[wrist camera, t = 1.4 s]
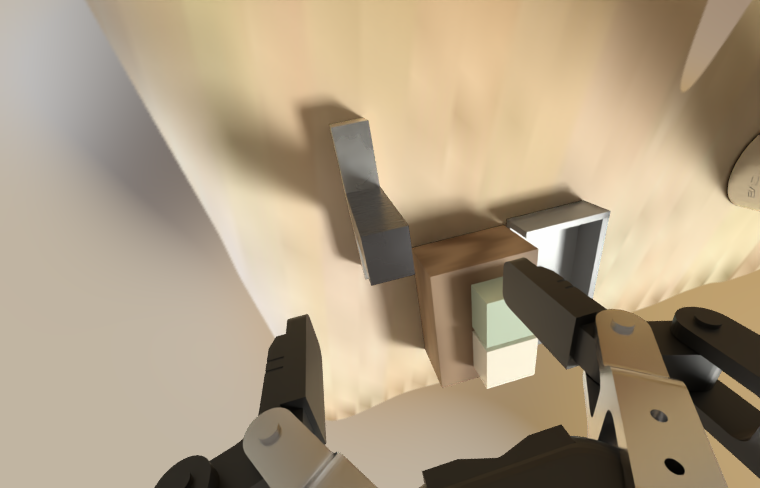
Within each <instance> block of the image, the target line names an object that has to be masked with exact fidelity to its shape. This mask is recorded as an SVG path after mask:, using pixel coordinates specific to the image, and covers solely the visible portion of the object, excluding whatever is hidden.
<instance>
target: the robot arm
mask: <svg viewBox="0 0 760 488" xmlns="http://www.w3.org/2000/svg"><path fill="white" fill-rule="evenodd" d="M728 196H729V198H730V200H731V202H732V203H734V204H735V205H737V206H741V207H745V208H748V209H752V210H756V211H760V134H759V135H758V136H757V137H756V138H755V139H754V140H753V141H752V142H751V143H750V144H749V145H748V147H747V148H746V149H745V151H744V152H743V153H742V154H741V156H740V158H739V159H738V161H737V162H736V164H735V166H734V168H733V171H732V173H731V176H730V179H729V182H728ZM503 298H504V301H505V303H506V305H507V306H508V307H509V309H510V310H511V311H512V312H513V313H514V314H515V315H516V316H517V317H518V318H519V319H520V320H521V321H522V322H523V324H524V325H525V326H526V327H527V328H528V329H529V330H530V331H531V332H532V333H533V334H534V335H535V336H536V337H537V338H538V340H539V341H540V342H541V343H542V344H543V345H544V346H545V347H546V348H547V349H548V350H549V351H550V352H551V353H552V355H553V356H554V357H555V358H556V359H557V360H558V361H559V362H560V363H561V364H562V365H563V366H564V367H565V368H566V369H570V368H573V367H576V366H580V367H581V368H582V369H583V370H584V371H583V385H584V394H585V403H586V412H587V422H588V436H587V438H586V437H578V436H570V435H569V434H568V433H567V431H566V430H565V429H564V427H563V426H562V425H558V426H555V427H552V428H549V429H547V430H543V431H540V432H538V433H535V434H532V435H529V436H527V437H526V438H525V439H523V440H522V441H521V442H520V443H518V444H517V445H516V446H514V447H513V448H512V449H511V450H509V451H508V452H507V453H505V454H504V455H503V456H501V457H499V458H484V459H457V460H454V461H451V462H449V463H446V464H443V465H440V466H437V467H434V468H431V469H428V470H425V471H422V473H423V478H424V483H425V484H424V485H422V486H421V487H419V488H728V486H727V484H726V481H725V479H724V476H723V474H722V472H721V469H720V467H719V464H718V462H717V459H716V457H715V455H714V453H713V450H712V448H711V445H710V442H709V440H708V438H707V435H706V433H705V431H704V429H705V430H707V431H708V432H709V433H710V434H711V435H712V436H713V437H714V438H715V439H717V440H718V441H719V442H720V443H721V444H722V445H723V446H724V447H725V448H726V449H728V450H729V451H730V452H731V453H732V454H733V455H734V456H735V457H736V458H738V459H739V460H740V461H741V462H742V463H743V464H744V465H745V466H746V467H747V468H749V469H750V470H751V471H752V472H753V473H754V474H755V475H756V476H757V477H759V478H760V411H759V410H758V409H756V408H755V407H754V406H752V405H751V404H750V403H748V402H747V401H746V400H744V399H743V398H742V397H740V396H739V395H738V394H736V393H735V392H734V391H732V390H731V389H730V388H728V387H727V386H726V385H724V384H723V383H722V382H720V381H719V380H718V377H719V375H720V373H721V371H723V372H725V373H726V374H728V375H729V376H730V377H732V378H733V379H735V380H736V381H738V382H739V383H740V384H742V385H743V386H744V387H746V388H747V389H749V390H750V391H751V392H753V393H755V394H756V395H757V396H758V397H759V398H760V335H758V334H757V333H755V332H753V331H751V330H750V329H748V328H746V327H744V326H742V325H741V324H739V323H737V322H736V321H734V320H732V319H730V318H729V317H727V316H725V315H723V314H720V313H718V312H715V311H712V310H709V309H705V308H699V307H684V308H681V309H679V310H677V311H676V313H675V315H674V318H673V321H649V322H648V321H645V320H643V319H642V318H641V317H639V316H637V315H635V314H633V313H630V312H627V311H623V310H617V309H608V310H607V309H606V308H604V307H603V306H601V305H600V304H599V303H597V302H596V301H594V300H593V299H592V298H590V297H589V296H588V295H586V294H585V293H583V292H582V291H581V290H579V289H578V288H577V287H574V286H573V285H572V284H571V283H570V282H568V281H567V280H566V281H565V279H564V278H563V277H561V276H560V275H559V274H557V273H556V272H554V271H552V270H550V269H547V268H544V267H542V266H538V267H537V266H536V265H535V264H533V263H532V262H531V261H529V260H528V259H527V258H524V257H523V258H519V259H515V260H511V261H508V262H505V263H504V266H503ZM325 444H326V431H325V410H324V391H323V371H322V356H321V350H320V346H319V343H318V340H317V337H316V334H315V331H314V329H313V326H312V323H311V320H310V317H309V315H308V314H306V315H302V316H298V317H295V318H291V319H288V320H287V329H286V334H284V335H281V336H277V337H276V338H275V339H274V341H273V343H272V345H271V346H270V348H269V351H268V358H267V364H266V374H265V377H264V383H263V390H262V396H261V403H260V409H259V415H258V417H257V418H256V419H255V420H254V421H253V422H252V423H251V424H250V426H249V427H248V429H247V431H246V433H245V436H244V438H243V439H242V440H241V441H240V442H239V443H237V444H236V445H235V446H233V447H231V448H230V449H228V450H227V451H225V452H223V453H222V454H220V455H219V456H217V457H215V458H214V459H212V460H211V461H208V459H207V458H205V457H203V456H199V455H196V456H191V457H188V458H185V459H183V460H181V461H180V462H178V463H177V464H176V465H174V466H173V467H171V468H170V469H169V470H168V471H167V472H166V473H165V474H164V475H163V477H162V478H161V479H160V480H159V482H158V483H157V485H156V486H155V488H377V487H376V486H375V485H374V484H373V483H372V482H371V481H370V480H369V479H368V478H367V477H366V476H365V475H364V474H363V473H362V472H361V471H359V470H358V469H357V468H356V467H355V466H354V465H353V464H352V463H351V462H350V461H349V460H348V459H347V458H346V457H345V456H343V455H342V454H341V453H339V452H336V453H333V452H331V451H330V450H329V449H328V448H327V447H326V446H325Z"/></svg>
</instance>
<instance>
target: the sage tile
mask: <svg viewBox="0 0 760 488" xmlns="http://www.w3.org/2000/svg"><path fill="white" fill-rule="evenodd" d="M471 300H472V327H473V329H474V330H475V331H476V333H477V334H478V336H479V337H480V339H481V340H482V342H483V343H484V344H485V346H486V347H487V348H489V347H492V346H496V345H499V344H503V343H506V342H510V341H513V340H516V339H520V338H523V337H527V336H530V335H534V334H533V333H532V332H531V331H530V330H529V329H528V328H527V327H526V326H525V325H524V324H523V322H522V321H521V320H520V319H519V318H518V317H517V316H516V315H515V314H514V313H513V312H512V311H511V310H510V309H509V307H508V306H507V305H506V303H505V301H504V298H503V277H499V278H495V279H492V280H488V281H484V282H480V283H477V284H473V285H471Z"/></svg>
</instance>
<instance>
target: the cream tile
mask: <svg viewBox="0 0 760 488" xmlns="http://www.w3.org/2000/svg"><path fill="white" fill-rule="evenodd" d="M537 345H538V338H537V337H536V336H535V335H530V336H527V337H523V338H520V339H516V340H513V341H510V342H506V343H503V344H499V345H496V346H492V347H489V348H487V347H486V346H485V344H484V343H483V342H482V340H481V339H480V337H479V336H478V334H477V333H476V331H473V362H474V368H475V369H476V371H477V373H478V374H479V376H480V378H481V379H482V381H483V383H484V385H485V386H486V388H487V389H488V388H492V387H495V386H498V385H501V384H505V383H508V382H511V381H514V380H518V379H521V378H524V377H528V376H531V375H534V373H535V364H536V354H537Z"/></svg>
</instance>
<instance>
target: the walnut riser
mask: <svg viewBox="0 0 760 488" xmlns="http://www.w3.org/2000/svg"><path fill="white" fill-rule="evenodd" d="M538 250H539V249H538V248H537V247H535V246H534V245H532V244H531V243H529V242H528V241H526V240H525V239H523V238H522V237H520V236H519V235H518V234H516V233H515V232H513V231H512V230H510V229H509V228H507V227H506V226H504V225H501V226H497V227H493V228H489V229H485V230H481V231H477V232H473V233H469V234H465V235H461V236H457V237H453V238H449V239H445V240H441V241H437V242H433V243H429V244H425V245H421V246H417V247H413V248H412V255H413V262H414V270H415V278H416V285H417V292H418V300H419V307H420V315H421V322H422V329H423V337H424V344H425V350H426V352H427V355H428V357H429V359H430V361H431V364H432V366H433V368H434V370H435V373H436V375H437V377H438V379H439V382H440V384H441V386H442V388H444V387H448V386H451V385H454V384H458V383H461V382H464V381H467V380H471V379H474V378H478V377H480V376H479V374H478V373H477V371H476V369H475V368H474V362H473V331H475V330H474V329H473V327H472V300H471V285H473V284H477V283H480V282H484V281H488V280H492V279H495V278H499V277H503V266H504V263H505V262H508V261H511V260H515V259H519V258H523V257H524V258H527V259H528V260H529V261H531V262H532V263H533V264H535V265H536V266H537V262H538Z"/></svg>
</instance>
